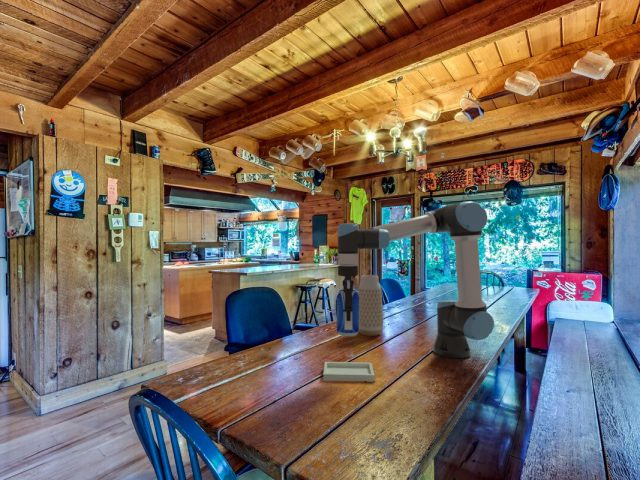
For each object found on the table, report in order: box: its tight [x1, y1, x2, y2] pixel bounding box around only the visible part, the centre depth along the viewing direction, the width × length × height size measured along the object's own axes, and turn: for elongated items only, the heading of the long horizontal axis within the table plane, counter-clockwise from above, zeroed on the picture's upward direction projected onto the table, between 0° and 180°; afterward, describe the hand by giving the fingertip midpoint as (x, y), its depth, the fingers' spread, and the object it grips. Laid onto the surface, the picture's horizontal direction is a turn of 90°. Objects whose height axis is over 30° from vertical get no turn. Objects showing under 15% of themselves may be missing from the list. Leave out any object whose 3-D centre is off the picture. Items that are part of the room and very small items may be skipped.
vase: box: [357, 274, 384, 337], centre depth 178 cm, size 14×14×31 cm
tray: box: [322, 361, 376, 383], centre depth 124 cm, size 18×12×2 cm, turn 87°
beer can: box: [336, 289, 360, 337], centre depth 124 cm, size 8×8×16 cm
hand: (348, 326), depth 124 cm, fingers closed on beer can, 8 cm apart
